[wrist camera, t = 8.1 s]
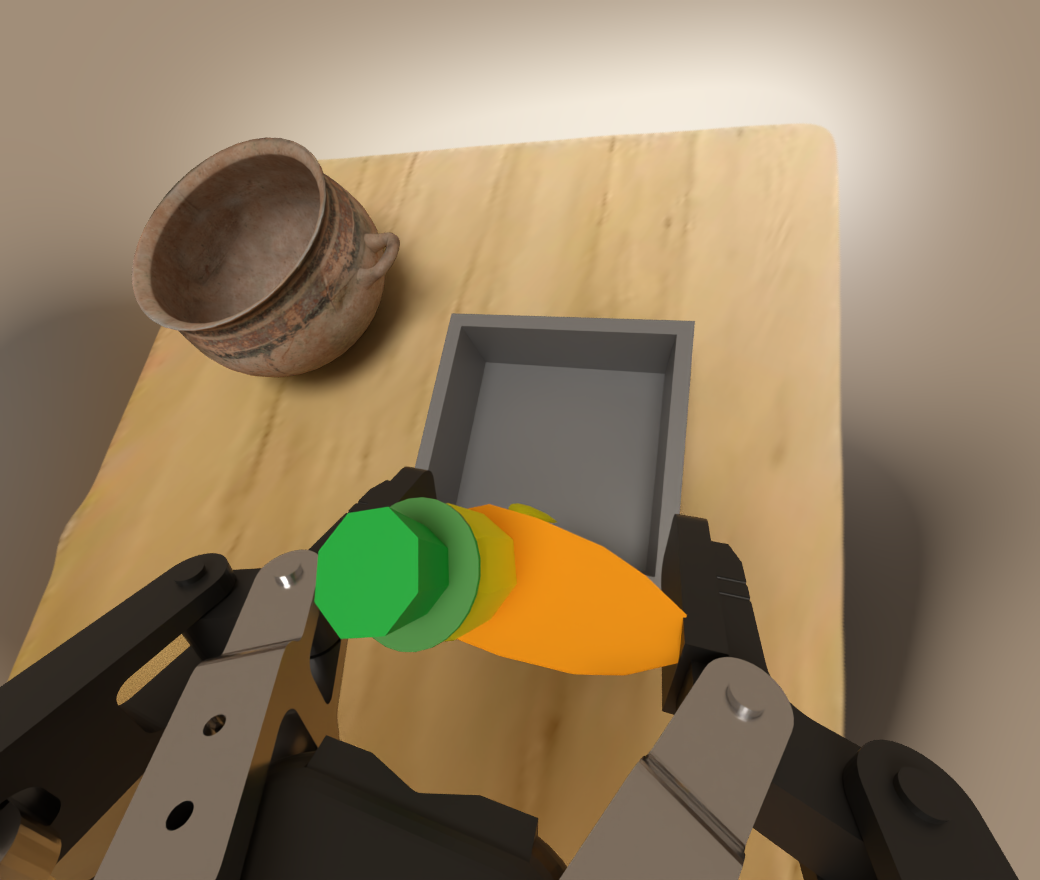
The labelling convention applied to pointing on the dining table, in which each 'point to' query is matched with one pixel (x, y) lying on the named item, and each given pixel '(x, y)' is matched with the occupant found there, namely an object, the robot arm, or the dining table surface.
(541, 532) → the toy figure
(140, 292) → the cooking pot
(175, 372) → the dining table surface
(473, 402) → the bin
